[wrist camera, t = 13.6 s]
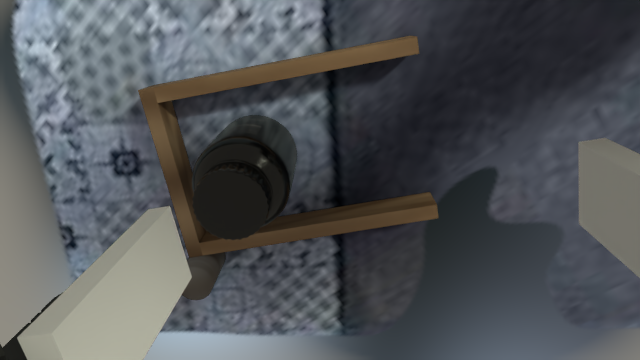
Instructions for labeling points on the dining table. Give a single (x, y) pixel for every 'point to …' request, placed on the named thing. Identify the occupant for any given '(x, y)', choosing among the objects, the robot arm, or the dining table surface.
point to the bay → (211, 249)
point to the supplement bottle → (244, 177)
